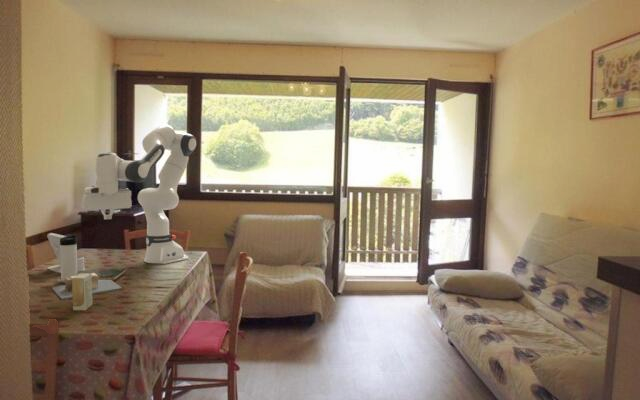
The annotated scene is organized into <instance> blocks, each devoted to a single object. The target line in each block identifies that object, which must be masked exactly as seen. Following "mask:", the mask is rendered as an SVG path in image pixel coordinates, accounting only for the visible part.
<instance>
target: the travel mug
mask: <svg viewBox="0 0 640 400" xmlns="http://www.w3.org/2000/svg"><path fill="white" fill-rule="evenodd" d="M77 246H78V245H77V235H70V236H66V237H63V238H61V239H60V262H61V273H60V282H61V283H62V284H65V277H71V276H76V275H78V272H77V257H78V251H77V250H78V247H77Z"/></svg>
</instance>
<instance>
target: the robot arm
mask: <svg viewBox="0 0 640 400" xmlns="http://www.w3.org/2000/svg"><path fill="white" fill-rule="evenodd" d="M141 142H142V143H141V144H142V148H143V150H144V151H145V152H146V154H145V155H144V156H143V157H142V158H141V159H138V160H125V159H123V158H120V156H118V155H117V153H115V152H102V153H99V154H98V155H97V156H96V161H95V174H96V181H95V184H94V185H92V186H87V187H84V194H83V195H82V200H81V208H82V209H83V210H84V211H99V210H100V212H101V214H102V215H103V220H112V218H113V214H114V213H115V210H118V209H119V210H120V209H131V208H132V206H133V205H132V204H133V203H132V190H130V189H129V188H128V187H127V188H123V187H122V188H119V181H122V182H132V183H137V184H140V183H143V182H144V181H145V180H147V178H148V176H149V174H150V172H151V171H152V169H153V168H154V167H155V166H156V165H157V163H158V162H159V161H161V159H162V157H163V155H164V153H165V150H168V151H170V155H169V156H168V158H166V160H165V162H164V164H163V165H162V168H161V169H160V171H159V173H158V175H157V178H158V180H159V185H158V187H147V188H143V189H141V190H140V191H139V192H138V194H137V201H138V203H139V205H140V206H141V208H142V209H143V213H144V215H145V218H146V219H145V220H146V237H145V243H146V251H145V257H144V260H143V261H144V263H148V264H163V265H164V264H165V265H166V264H171V263H175V262H181V261H185V260H188V259H189V256H188V255H186V254H185V251H184V249H183V247H182V246H181V245H180V244H178V243H177V242H176V241H174V240H175V239H176V238H177V236H176V235H174V234H171V233H170V220H169V218H168V217H167V215H166V213H165V211H168V210H174V209H175V208H176V207H178V204H179V202H180V197H179V194H178V186H179V184H180V181H181V179H182V177H183V175H184V173H185V170H186V168H187V166H188V163H189V160H190V158H189V156H191V155H192V153H194V151H195V150H196V148H197V144H198V143H197V138H196V137H195V136H194V135H192V134H191V133H187V132H183V131H176V130H175V129H174V128H173V127H172V126H171V125H169V124H162V125H160V126H158V127H156V128H155V129H154V128H153V130H151V131H150V132H149V133H148V134H146V135H145V137H143V139H142V141H141ZM106 210H109V213H108V214H106Z"/></svg>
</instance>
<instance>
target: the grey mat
mask: <svg viewBox="0 0 640 400" xmlns="http://www.w3.org/2000/svg"><path fill="white" fill-rule="evenodd" d="M122 289H123V288H122V286H120V285H119V284H117V283H116V282H115V281H113V280H112V279H111V280H99V279H98V287H96V288H92V295H95V294H102V293H107V292H113V291H120V290H122ZM51 290H53V292H54V293H55V295H57V296H58V297H59V299H60V300H61V301H64V300H68V299H73V292H67V291H66V289H65V284H63V285H54V286H52V287H51Z"/></svg>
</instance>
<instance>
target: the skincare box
mask: <svg viewBox="0 0 640 400" xmlns="http://www.w3.org/2000/svg"><path fill="white" fill-rule="evenodd" d="M72 291H73V298H72V310H73V311H86V310H87V309H89V308H90V307H91V306H92V305H93V294H92V274H91V273H86V272H84V273H83V272H82V273H81V272H79V273H77V275H76V276H75V277H73V278H72Z"/></svg>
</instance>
